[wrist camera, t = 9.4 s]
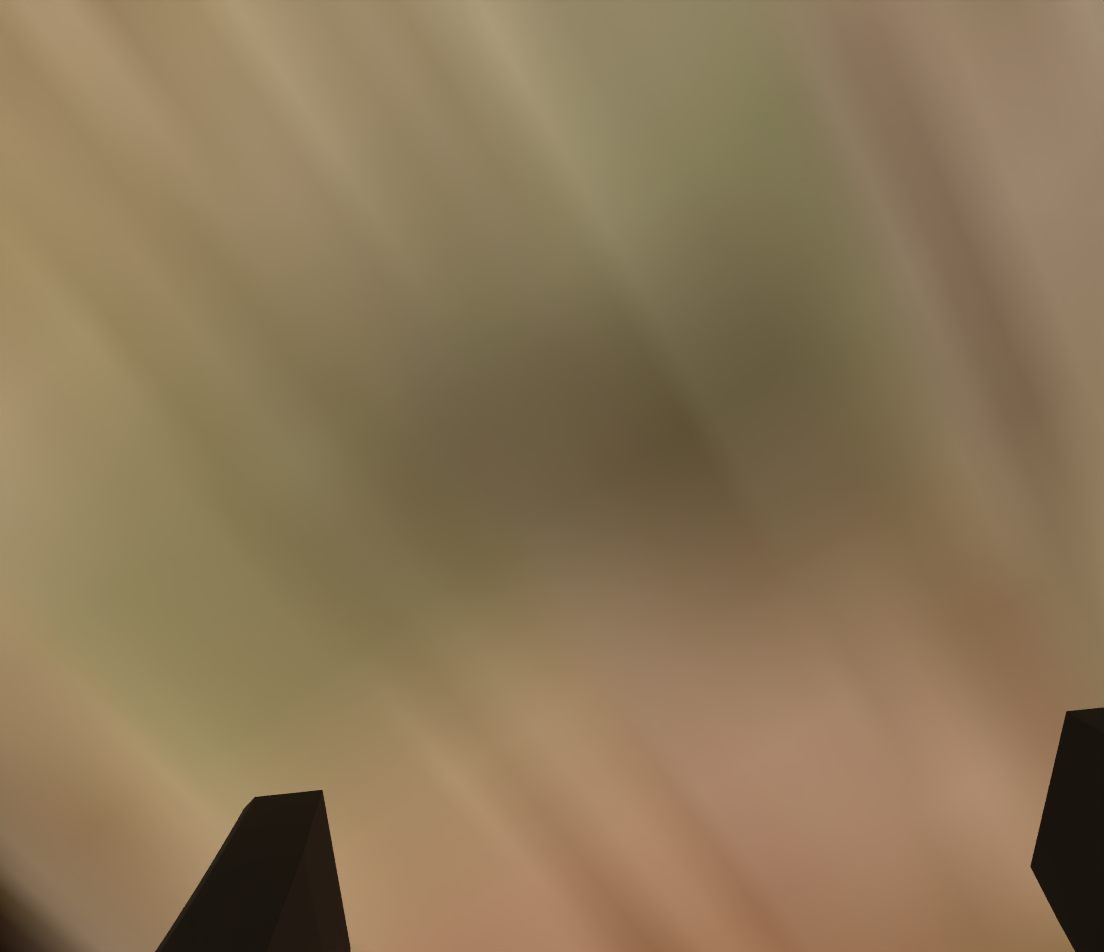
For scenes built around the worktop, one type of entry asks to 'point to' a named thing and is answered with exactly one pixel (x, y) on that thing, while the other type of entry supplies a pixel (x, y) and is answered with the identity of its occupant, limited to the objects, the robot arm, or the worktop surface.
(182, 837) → the worktop surface
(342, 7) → the worktop surface
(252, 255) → the worktop surface
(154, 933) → the worktop surface
